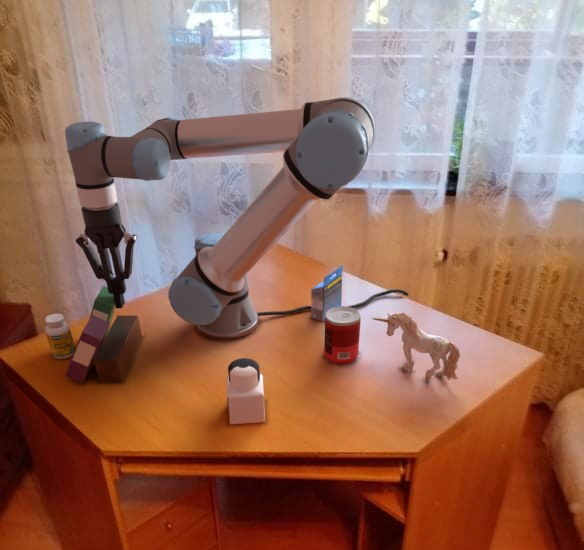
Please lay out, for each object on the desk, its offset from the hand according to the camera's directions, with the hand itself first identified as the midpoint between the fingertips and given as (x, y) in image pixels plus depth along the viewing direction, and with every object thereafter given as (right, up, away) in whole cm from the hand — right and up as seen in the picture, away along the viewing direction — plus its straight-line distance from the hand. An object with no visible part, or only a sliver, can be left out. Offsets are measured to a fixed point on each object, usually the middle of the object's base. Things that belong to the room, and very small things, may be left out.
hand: (120, 305), depth 136 cm
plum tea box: (-8, -15, -5) cm, 18 cm away
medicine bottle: (+30, -24, -15) cm, 42 cm away
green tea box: (-8, -7, +6) cm, 12 cm away
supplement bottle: (-14, -11, +3) cm, 18 cm away
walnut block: (0, -12, +1) cm, 12 cm away
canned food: (+51, -12, +1) cm, 52 cm away
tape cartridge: (+48, 0, +17) cm, 51 cm away
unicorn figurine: (+66, -17, -6) cm, 68 cm away
